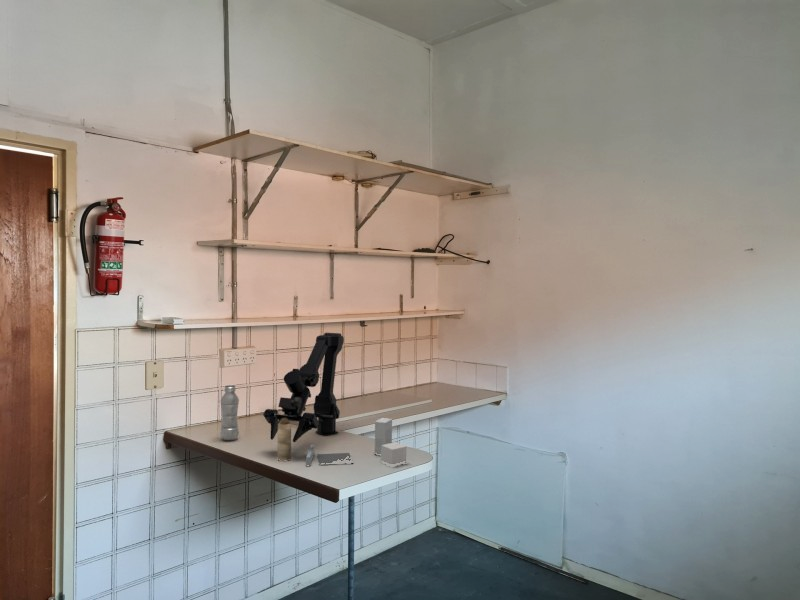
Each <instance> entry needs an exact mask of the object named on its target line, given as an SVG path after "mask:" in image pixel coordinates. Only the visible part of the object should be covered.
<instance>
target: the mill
mask: <svg viewBox="0 0 800 600" xmlns="http://www.w3.org/2000/svg"><path fill="white" fill-rule="evenodd" d="M276 453H277V454H276V455H277V458H278V459H280V460H288V459H290V458H292V422H291V421H289V420H288V418H282V419H281V420H280V423H278V431H277V451H276ZM290 460H291V459H290ZM288 461H289V460H288Z"/></svg>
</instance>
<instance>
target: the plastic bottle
mask: <svg viewBox="0 0 800 600" xmlns="http://www.w3.org/2000/svg"><path fill="white" fill-rule="evenodd" d="M239 402H240V399H239V396H238V395H237V394H236V385H231V384H230V385H225V386H224V394H223V395H222V396H221V398H220V408H221V428H220V430H219V431H220V434H219V435H220V438H221V439H222V440H224V441H232V440H237V439H238V437H239V435H240V434H239V433H240V430H239V424H238V412H239V410H238V409H239Z"/></svg>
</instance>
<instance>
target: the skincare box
mask: <svg viewBox="0 0 800 600" xmlns="http://www.w3.org/2000/svg"><path fill="white" fill-rule="evenodd" d="M390 443H393V419H392V418H386V417H381V418H379V419H377V420H375V422H374V454H375V453H377V454H381V445H385V444H390Z"/></svg>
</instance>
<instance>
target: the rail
mask: <svg viewBox="0 0 800 600" xmlns="http://www.w3.org/2000/svg"><path fill="white" fill-rule="evenodd" d="M315 447H316V445H315V444H310V447H309V448H308V449H309V450H308V452H307V454H306V457H305V466H306V465H310V466H311V464H312V462H313V459H312V458H314V456H315ZM313 455H314V456H313ZM311 461H312V462H311ZM310 463H311V464H310Z"/></svg>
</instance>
